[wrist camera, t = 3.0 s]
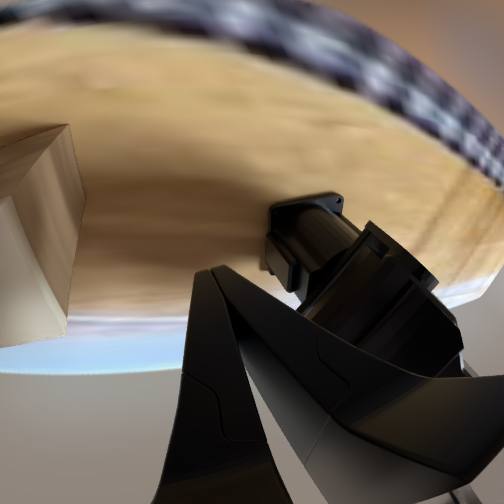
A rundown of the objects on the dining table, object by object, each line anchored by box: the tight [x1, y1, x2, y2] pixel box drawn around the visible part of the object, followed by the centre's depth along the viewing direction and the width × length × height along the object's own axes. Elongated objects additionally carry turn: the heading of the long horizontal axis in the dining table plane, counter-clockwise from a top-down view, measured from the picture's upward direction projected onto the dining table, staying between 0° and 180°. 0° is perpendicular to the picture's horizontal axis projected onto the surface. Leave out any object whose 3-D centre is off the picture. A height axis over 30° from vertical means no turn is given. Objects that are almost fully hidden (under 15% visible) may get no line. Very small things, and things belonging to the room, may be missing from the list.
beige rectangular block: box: [0, 124, 86, 348], centre depth 11 cm, size 5×5×11 cm
